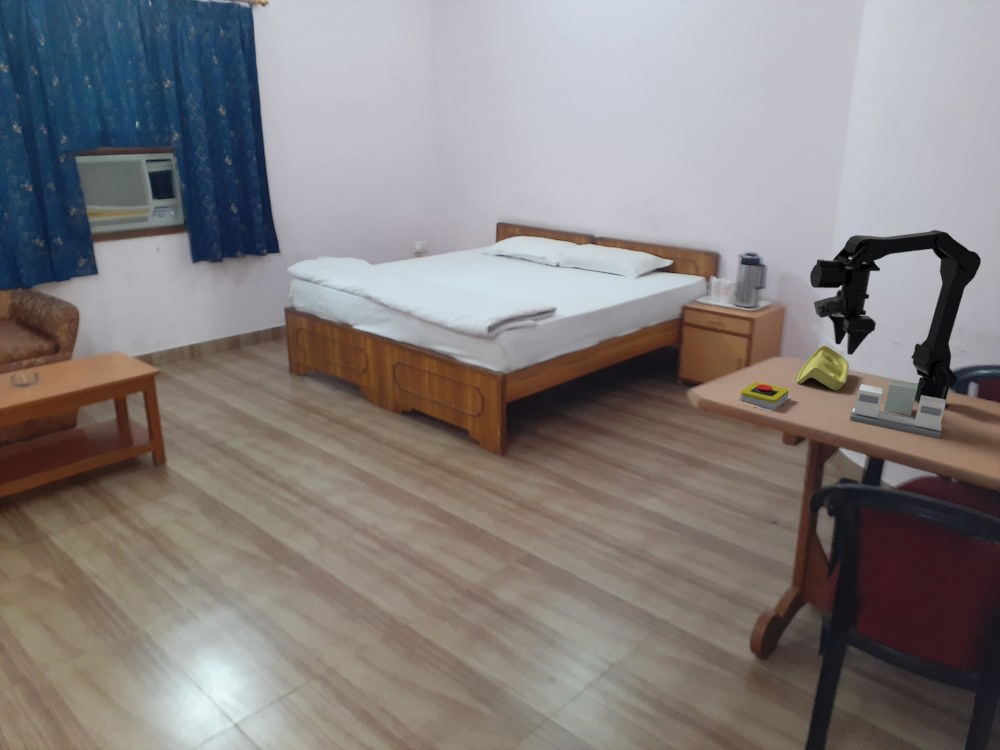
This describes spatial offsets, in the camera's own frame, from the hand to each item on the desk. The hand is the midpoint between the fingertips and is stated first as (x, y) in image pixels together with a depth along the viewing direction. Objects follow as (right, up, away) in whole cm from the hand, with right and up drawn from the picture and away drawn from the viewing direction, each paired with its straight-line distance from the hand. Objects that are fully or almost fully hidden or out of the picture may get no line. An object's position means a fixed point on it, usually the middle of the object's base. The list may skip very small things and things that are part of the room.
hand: (843, 349), depth 186 cm
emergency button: (-19, -14, +3) cm, 24 cm away
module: (+13, -15, -1) cm, 20 cm away
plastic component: (+4, -8, +21) cm, 23 cm away
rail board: (+8, -18, -10) cm, 22 cm away
